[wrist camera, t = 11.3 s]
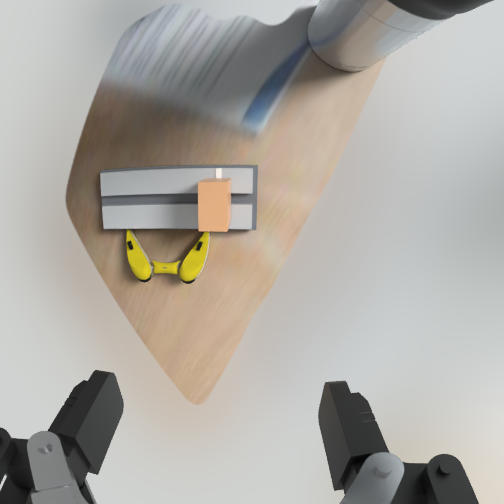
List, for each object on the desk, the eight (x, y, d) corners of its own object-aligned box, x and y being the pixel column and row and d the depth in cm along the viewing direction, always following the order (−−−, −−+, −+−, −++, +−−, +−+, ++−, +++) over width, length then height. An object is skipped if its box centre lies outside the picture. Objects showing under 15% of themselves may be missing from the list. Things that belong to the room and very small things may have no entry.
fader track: (109, 226, 35) (100, 231, 33) (105, 169, 33) (96, 171, 30) (255, 226, 35) (256, 232, 33) (257, 165, 33) (257, 165, 31)
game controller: (132, 281, 36) (122, 281, 33) (134, 230, 37) (124, 226, 33) (210, 283, 37) (206, 284, 33) (211, 230, 37) (208, 226, 34)
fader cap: (207, 218, 33) (198, 231, 27) (207, 177, 32) (197, 182, 26) (231, 218, 33) (227, 231, 27) (231, 177, 32) (227, 182, 26)
